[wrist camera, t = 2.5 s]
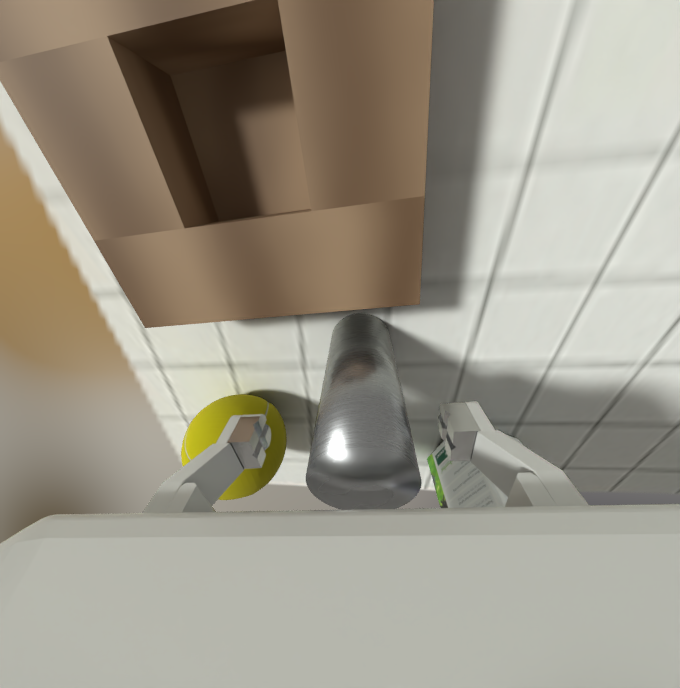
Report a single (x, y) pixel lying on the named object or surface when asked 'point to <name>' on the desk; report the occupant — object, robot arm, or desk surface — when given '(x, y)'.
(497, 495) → the syrup box
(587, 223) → the desk surface
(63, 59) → the socket block
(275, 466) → the tennis ball
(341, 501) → the pin
